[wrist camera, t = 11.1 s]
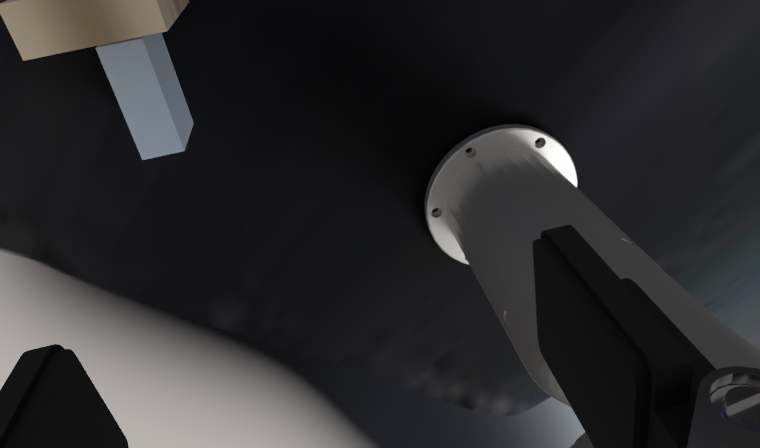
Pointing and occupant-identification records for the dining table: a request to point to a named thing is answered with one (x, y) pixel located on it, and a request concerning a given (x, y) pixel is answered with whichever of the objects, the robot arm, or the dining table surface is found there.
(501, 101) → the dining table surface
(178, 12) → the notched wooden block
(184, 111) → the plain gray rectangular bar
